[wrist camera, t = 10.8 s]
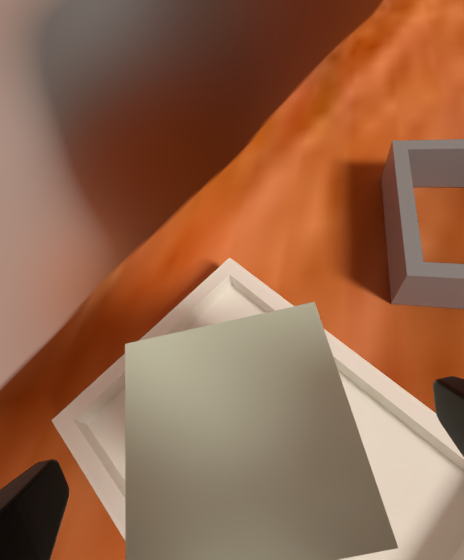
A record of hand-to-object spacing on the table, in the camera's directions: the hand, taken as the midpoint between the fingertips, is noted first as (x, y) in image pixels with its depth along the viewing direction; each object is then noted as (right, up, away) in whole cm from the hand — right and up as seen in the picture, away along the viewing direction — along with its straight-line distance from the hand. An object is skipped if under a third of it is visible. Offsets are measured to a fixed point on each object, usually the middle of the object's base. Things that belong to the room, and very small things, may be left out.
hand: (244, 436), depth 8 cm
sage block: (+1, -4, +7) cm, 8 cm away
